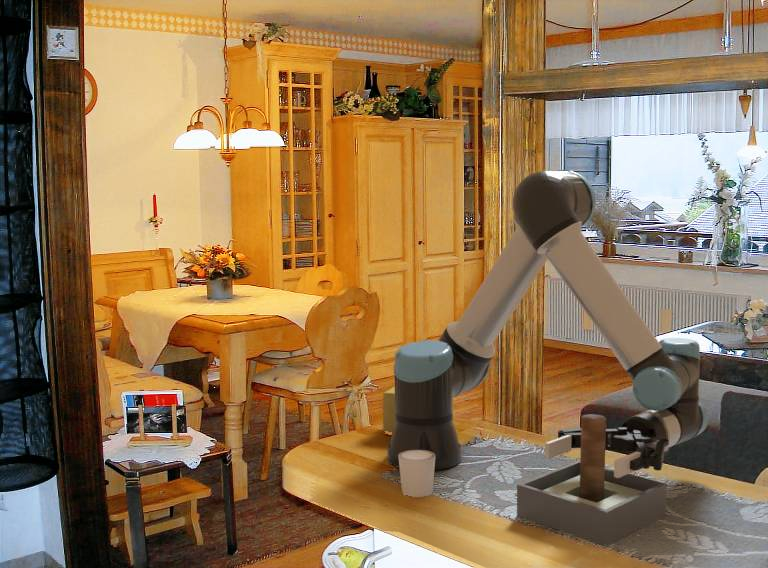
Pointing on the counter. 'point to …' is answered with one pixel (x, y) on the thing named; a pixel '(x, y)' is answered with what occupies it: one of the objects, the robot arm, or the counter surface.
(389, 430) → the cheese
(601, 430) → the peg
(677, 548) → the counter surface
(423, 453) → the white cup
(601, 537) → the open box
